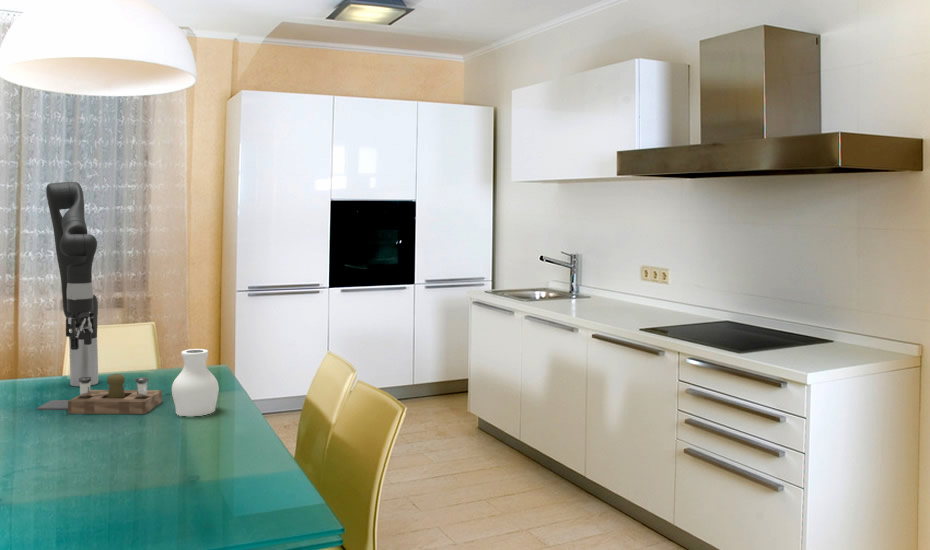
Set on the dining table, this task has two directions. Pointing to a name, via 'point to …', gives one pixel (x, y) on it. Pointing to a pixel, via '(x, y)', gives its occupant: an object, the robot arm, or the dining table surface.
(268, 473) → the dining table surface
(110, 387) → the cork
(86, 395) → the plunger
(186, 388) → the vase
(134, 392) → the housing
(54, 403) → the pad
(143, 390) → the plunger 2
